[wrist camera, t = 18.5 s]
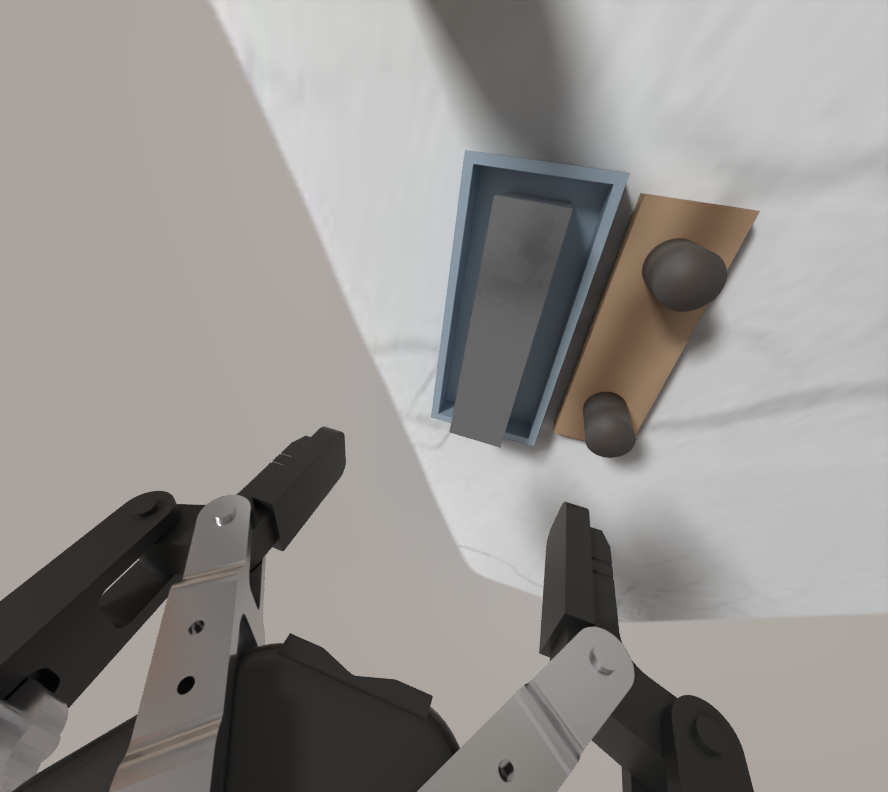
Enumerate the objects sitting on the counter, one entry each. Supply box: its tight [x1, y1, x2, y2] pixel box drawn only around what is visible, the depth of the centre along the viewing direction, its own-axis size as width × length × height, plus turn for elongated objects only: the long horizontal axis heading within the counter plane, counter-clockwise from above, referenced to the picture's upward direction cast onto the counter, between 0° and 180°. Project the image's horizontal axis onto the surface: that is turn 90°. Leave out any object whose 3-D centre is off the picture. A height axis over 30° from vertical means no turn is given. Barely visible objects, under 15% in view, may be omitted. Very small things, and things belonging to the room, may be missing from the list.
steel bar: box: [450, 191, 573, 447], centre depth 25 cm, size 4×16×6 cm, turn 172°
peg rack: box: [554, 193, 760, 458], centre depth 24 cm, size 6×18×6 cm, turn 173°
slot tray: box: [431, 150, 630, 446], centre depth 26 cm, size 9×20×3 cm, turn 173°
